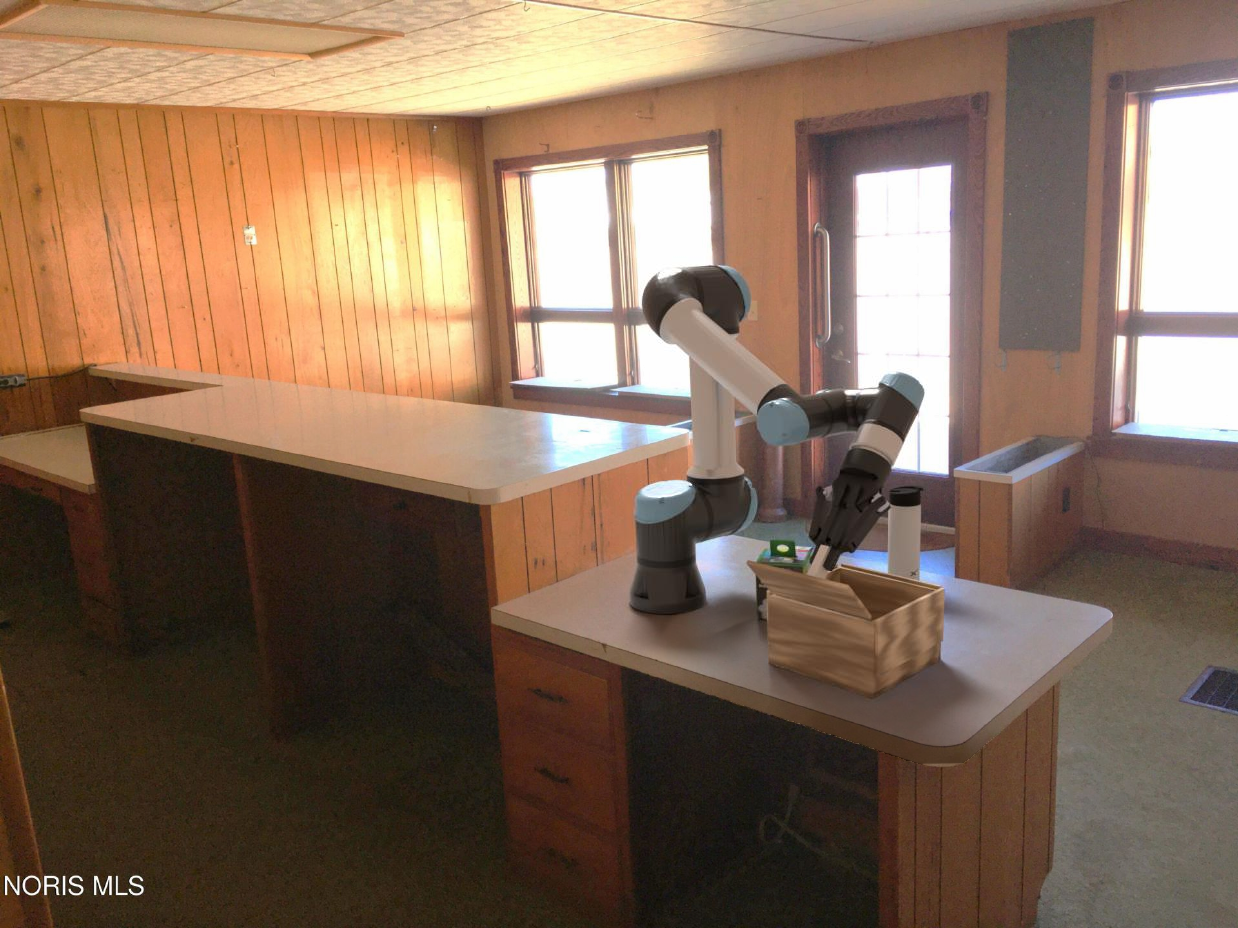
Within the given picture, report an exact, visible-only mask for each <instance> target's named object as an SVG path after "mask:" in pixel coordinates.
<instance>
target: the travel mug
mask: <svg viewBox="0 0 1238 928" xmlns="http://www.w3.org/2000/svg"><path fill="white" fill-rule="evenodd" d="M921 492H924V487H923V486H922V485H918V486H916V485H903V486H898V487H894V488H892V489H889V492H888V503H889V504H890V506H891V508H890V509H889V510H888V511H887V512H888V513H887V514H888V518H887V519H888V520H887V522H888V525H887V526H888V527H887V528H888V529H887V531H888V532H887V535H888V537H887V539H888V540H887V573H889V574H894V575H898V576H902V577H907V578H911V579H915V580H920V574H921V573H920V571H921V569H920V568H921V565H920V564H921V530H922V527H921V523H922V521H921V519H922V501H921V499H922V493H921Z"/></svg>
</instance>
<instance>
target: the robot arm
mask: <svg viewBox="0 0 1238 928" xmlns="http://www.w3.org/2000/svg"><path fill="white" fill-rule="evenodd" d="M751 295H752V294H751V291H750V288H749V284H748V282H747V281H746V279H745V277H744V276H743V275H741V273H740V271H738V270H737V269H735V268H734V267H732V266H728V265H718V264H709V265H698V266H697V265H696V266H695V265H694V266H684V267H682V266H681V267H676V266H675V267H669V268H665V269H663V270H660V271H659V272H657V273H655V274H654V275H653V276H652V277H651V278H650V279H649V280H648V282H647V283H646V286H645V288H644V289H643V293H642V296H641V309H642V314H643V316H644V319H645V321H646V323H647V324H648V326H649V327H650V329H651V331H653V332H654V333H655V335H656V336H657V337H659V338H660V339H661V340H662V341H663V342H665V343H666V344H668V345H675V346H677V347H678V348H679V349H680V350H682V351H683V352H684V353H685V354H686V355H687V356H688V365H689V389H690V390H689V391H690V406H691V407H690V408H691V410H690V411H691V430H692V431H691V432H692V437H691V438H692V451H693V452H692V454H693V457H692V458H693V459H692V460H693V464H692V465H691V466H690V468H689V469H688V470H686V480H682V479H669V480H666V481H664V480H661V481H656V482H652V483H651V484H647V485H646V486H644V487H642V488H641V489H639V490H638V492H637V493H636V495H635V499H634V510H633V516H634V521H635V525H634V526H635V544H636V546H635V547H636V550H635V551H636V567H635V570H634V574H633V577H632V580H631V584H630V588H629V593H628V594H629V595H628V596H629V598H628V599H629V605H630V606H631V607H632V608H633V609H635V610H637V611H640V612H642V613H643V612H644V613H648V614H656V615H657V614H658V615H671V614H673V615H674V614H683V613H688V612H691V611H694V610H697V609H699V608H701V607H702V606H704V605H705V604H706V601H707V595H706V594H707V589H706V586H705V584H704V581H703V578H702V576H701V572H700V569H699V567H698V564H697V551H696V548H697V547H696V546H697V545H698V544H700V543H705V542H709V541H710V540H714V539H718V538H722V537H728V536H732V535H735V534H736V533H738V532H741V531H743V530H745V529H746V528H748V527H749V525H751V523H752V522H753V520H754V519H755V516H756V514H757V510H758V495H757V491H756V488H754V487H753V483H752V482H751V480H750V479H749V478H747V477H746V476H745V469H744V468H743V467H742V466H741V465H740V464H739V463H738V462H737V448H736V447H737V445H736V444H737V443H736V416H735V415H736V414H735V413H736V412H735V399H736V400H737V401H738V402H740V404H742V406H744V407H745V408H746V409H747V410H749V412H751V414H753V415H754V416H755V417H756V427H757V430H758V431H759V434H760V437H761V438H762V440H763V441H764V442H766V443H767V444H768V445H770V446H772V447H782V446H794V445H797V444H801V443H804V442H809V441H812V440H816V439H823V438H829V437H832V436H838V435H843V434H850V433H851V434H853V433H855V435H854V437H853V439H852V440H851V441H852V442H851V443H850V445H849V450H848V451H847V452H846V453H845V456H844V459H843V461H842V462H841V464H840V467H839V473H838V476H837V477H836V478H835V479H834V480H833V481H832V483H831V485H829V486H827V487H826V486H825V487H822V486H821V485H818V486H817V487H816V488H815V494H816V495H815V496H816V502H815V505H814V510H813V513H812V519H811V524H810V527H809V532H808V539H810V541H811V542H812V543H813V544H814V545H815V547H814V549H813V554H812V556H811V558H810V562H809V563H810V564H811V567H810V569H809V571H808V573H807V575H810V576H814V577H818V578H822V579H825V578H826V576H827V574H828V571H833V569H834V568H835V565H836V563H837V564H838V561H839V559H840V557H841V555H843V554H845V553H849V554H854V553H855V552H856V551H857V549H858V548H859V547H860V545H861V543H862V542H863V541H864V540H865V539H866V537H867V535H869V533H870V531H871V530H872V529H873V527H874V526H875V525H876V523H877V522H878V521H879V519H880V518H881V517H882V516H883V515H884V514H886V513H887V512H888V510H889V509H890V508H891V506H890V504H889V500H887V498H886V497H885V496H883V495H882V494H883V491H882V490H883V488H884V487H885V486H886V484H887V482H888V479H889V477H890V474H891V473H892V468H893V467H894V466H895V464H896V461H897V459H898V457H899V454H900V452H901V450H902V448H903V446H904V443H905V441H906V438H907V436H908V434H909V431H910V430H911V428H912V425H913V424H914V422H915V419H916V418H917V416H918V415H919V413H920V409H921V407H922V403H923V400H924V397H925V389H924V386H923V385H922V384H921V382H920V381H919V380H918V379H916V378H915V377H914V376H912V375H910V374H908V373H905V372H901V371H890V372H888V373H887V374H884V375H883V377H882V379H881V380H880V381H879V382H878V386H876V387H867V388H866V387H865V388H839V387H838V388H836V387H833V388H828V389H821V390H818V391H816V392H815V393H811V394H806V395H802V394H800V393H799V392H798V391H796V389H794V388H792V386H790V385H789V384H788V383H787V382H786V381H784V380H783V379H782V378H781V377H780V376H779V375H777V374H776V373H775V372H774V371H772V369H770V368H769V367H768V366H767V365H766V364H764V363H763V362H762V361H761V360H760V359H758V358H757V357H756V356H755V355H754V354H752V353H751V352H750V351H749V350H748V349H747V348H746V347H744V346H743V345H742V343H740V342H738V341H737V340H736V339H737V338H738V337H739V336H740V323H742V322H743V321H744V320H745V319H746V318H747V316H748V314H749V312H750V311H751V305H752V296H751ZM832 500H833V501H832ZM831 502H832V503H831ZM830 506H831V507H830ZM830 508H831V509H830ZM696 544H697V545H696Z"/></svg>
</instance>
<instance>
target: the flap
mask: <svg viewBox="0 0 1238 928" xmlns="http://www.w3.org/2000/svg"><path fill="white" fill-rule="evenodd" d="M746 565H747V567H749V568H750V570H752V572H753V574H754V575H755V576H756V575H757V577H758V578H759V579H760V580H761V581H762V583H763V584H764V585H765V586H766V587H767V588H768V590H769V591H770V592H771V593H774V594H778V595H782V596H785V597H789V598H793V599H796V600H800V601H804V602H807V603H811V604H815V605H818V606H822V607H826V608H829V609H833V610H837V611H840V612H844V613H848V614H851V615H855V616H859V617H862V618H866V619H870V620H871V618H872V615H871V614H870V613H869V611H868V610H867V609H866V607H865V606H864V605H863V603H862V602H861V601H860V599H859V598H858V597H857V595H856V594H855V593H854V591H853V590H852V589H851V587H850V586H849V585H846V584H842V583H838V582H834V581H830V580H826V579H822V578H818V577H814V576H810V575H806V574H802V573H798V572H794V571H790V570H786V569H782V568H778V567H774V566H770V565H766V564H762V563H758V562H756V561H754V560H753V561H752V560H749V559H747V561H746Z"/></svg>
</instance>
